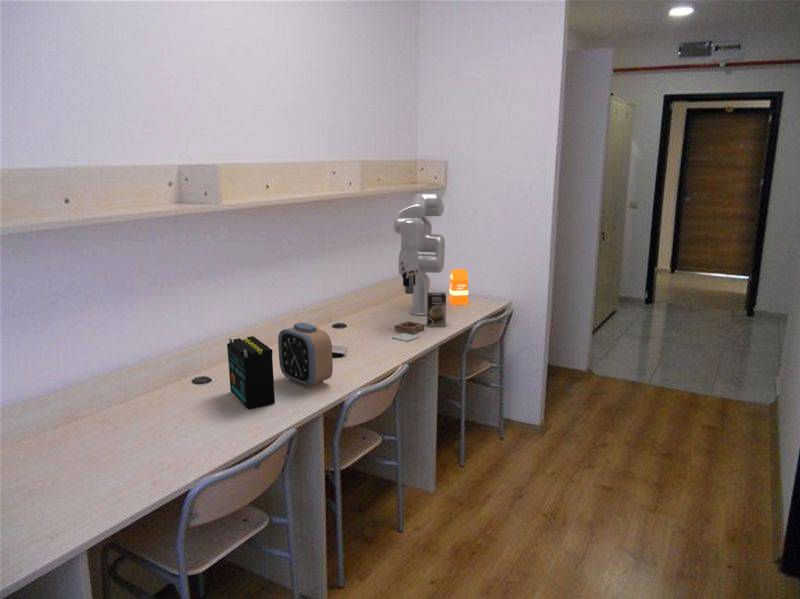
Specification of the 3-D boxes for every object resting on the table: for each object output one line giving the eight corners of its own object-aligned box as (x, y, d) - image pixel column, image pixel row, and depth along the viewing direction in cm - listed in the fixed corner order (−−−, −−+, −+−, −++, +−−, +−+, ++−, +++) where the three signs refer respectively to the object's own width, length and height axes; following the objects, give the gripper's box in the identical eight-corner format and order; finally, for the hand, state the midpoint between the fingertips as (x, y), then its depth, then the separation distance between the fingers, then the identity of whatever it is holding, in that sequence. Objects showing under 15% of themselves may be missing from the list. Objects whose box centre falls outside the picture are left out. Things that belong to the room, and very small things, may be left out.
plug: (408, 291, 292) (408, 270, 290) (415, 292, 289) (415, 271, 287) (402, 293, 289) (402, 272, 286) (410, 294, 286) (409, 273, 284)
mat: (404, 334, 288) (404, 332, 288) (419, 337, 282) (419, 336, 282) (392, 338, 281) (392, 337, 281) (407, 341, 276) (407, 340, 275)
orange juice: (449, 303, 349) (449, 268, 344) (464, 302, 350) (464, 267, 346) (452, 306, 341) (453, 270, 337) (468, 305, 343) (468, 270, 338)
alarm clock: (279, 378, 231) (276, 323, 226) (300, 372, 238) (297, 318, 233) (312, 392, 217) (309, 333, 212) (333, 385, 223) (331, 328, 219)
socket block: (408, 327, 300) (407, 321, 299) (424, 330, 294) (424, 324, 293) (394, 331, 292) (394, 325, 292) (411, 335, 286) (411, 328, 285)
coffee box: (427, 327, 299) (427, 295, 295) (426, 323, 305) (426, 292, 302) (446, 327, 299) (446, 294, 296) (444, 323, 306) (444, 291, 302)
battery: (230, 391, 218) (226, 338, 214) (256, 386, 223) (253, 333, 219) (247, 410, 202) (243, 352, 198) (275, 403, 207) (272, 347, 203)
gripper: (413, 244, 292) (414, 281, 297) (391, 248, 280) (391, 287, 284) (426, 245, 288) (426, 283, 292) (403, 249, 275) (404, 289, 280)
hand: (409, 285), depth 288 cm, fingers closed on plug, 4 cm apart
